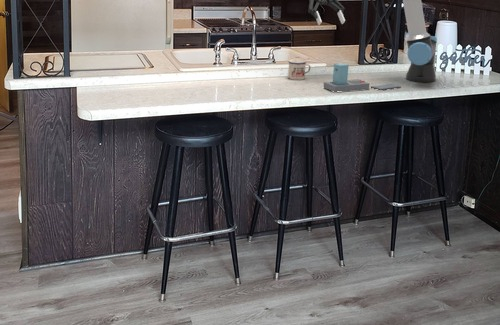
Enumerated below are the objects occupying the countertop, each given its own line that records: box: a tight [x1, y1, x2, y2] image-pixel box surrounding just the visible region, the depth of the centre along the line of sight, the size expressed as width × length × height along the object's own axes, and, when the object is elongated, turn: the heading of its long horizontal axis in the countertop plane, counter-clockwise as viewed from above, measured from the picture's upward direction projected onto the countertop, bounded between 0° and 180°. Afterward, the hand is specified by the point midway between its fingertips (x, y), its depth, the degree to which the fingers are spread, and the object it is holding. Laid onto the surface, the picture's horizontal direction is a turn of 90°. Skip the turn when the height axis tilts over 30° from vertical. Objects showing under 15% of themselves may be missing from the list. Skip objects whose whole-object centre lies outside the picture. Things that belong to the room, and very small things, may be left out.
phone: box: [370, 83, 402, 91], centre depth 321 cm, size 14×7×1 cm, turn 123°
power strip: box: [322, 78, 371, 93], centre depth 316 cm, size 20×10×4 cm, turn 116°
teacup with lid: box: [287, 55, 312, 81], centre depth 335 cm, size 12×9×12 cm
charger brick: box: [332, 62, 349, 85], centre depth 313 cm, size 5×5×11 cm
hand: (331, 22), depth 321 cm, fingers open, 13 cm apart
